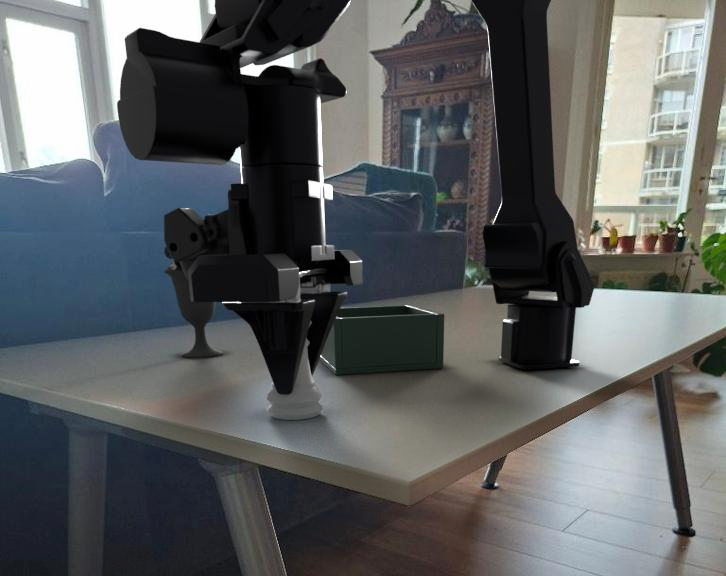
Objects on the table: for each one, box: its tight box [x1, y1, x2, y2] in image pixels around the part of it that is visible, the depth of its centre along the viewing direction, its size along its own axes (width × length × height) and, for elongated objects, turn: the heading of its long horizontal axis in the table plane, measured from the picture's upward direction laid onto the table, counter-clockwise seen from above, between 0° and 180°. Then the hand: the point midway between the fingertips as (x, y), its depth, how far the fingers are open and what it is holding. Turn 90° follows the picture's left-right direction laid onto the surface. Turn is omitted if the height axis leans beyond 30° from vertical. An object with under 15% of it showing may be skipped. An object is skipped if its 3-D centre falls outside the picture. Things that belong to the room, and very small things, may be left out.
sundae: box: [164, 259, 224, 359], centre depth 80 cm, size 7×7×15 cm
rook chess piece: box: [266, 321, 324, 421], centre depth 51 cm, size 4×4×8 cm
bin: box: [319, 304, 445, 376], centre depth 73 cm, size 12×12×6 cm
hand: (294, 388), depth 52 cm, fingers closed on rook chess piece, 3 cm apart
